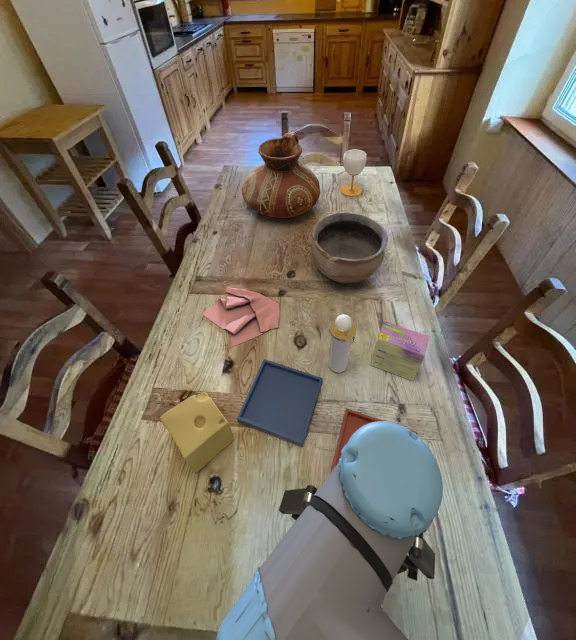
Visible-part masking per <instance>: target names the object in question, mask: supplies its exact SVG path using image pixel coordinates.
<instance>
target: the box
mask: <svg viewBox="0 0 576 640" xmlns="http://www.w3.org/2000/svg"><path fill="white" fill-rule="evenodd" d="M429 337H430V336H429V335H427V334H424V333H421V332H418V331H415V330H412V329H410V328H406V327H403V326H401V325H397V324H394V323H392V322H388V321H385V320H384V321H383V323H382V326H381V328H380V332H379V334H378V338H377V341H376V344H375V348H374V350H373V351H374V352H373V355H372V359H371V361H370V362H371V363H370V366H372V367H375V368H377V369H380V370H384V371H386V372H388V373H390V374H392V375H393V374H394V375H396V376H398V377H402V378H404V379H406V380H408V381H411V382H413V381H414V380H415V378H416V376H417V374H418V371H419V370H420V368H421V365H422V363H423V361H424V360H425V357H426V353H427V349H428V343H429Z"/></svg>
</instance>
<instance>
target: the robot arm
mask: <svg viewBox="0 0 576 640" xmlns="http://www.w3.org/2000/svg"><path fill="white" fill-rule="evenodd" d="M411 430H412V429H409V428H408V427H406V426H404V425H402V424H399V423H395V422H392V421H388V420H387V421H386V420H383V421H377V422H371V423H368V424H366V425H364V426H362V427H361V428H359V429H358V430H357V431H356V432H355V433H354V434H353V435H352V436H351V438H350V439H349V441H348V443H347V444H346V445H345V446H344V447H343V449H342V451H341V458H340V459H339V462H338V464H337V465H336V467H335V468H334V469H333V471H332V472H331V471H330V473H329V474H328V476H327V477H326V478H325V480H324V481H323V482H322V484H321V485H320V486H319V488H317V487H316V486H314V485H312V484H307V486H306V487H302V488H294V489H286V490H284V492H283V495H282V499H281V502H280V505H279V508H278V512H279V513H281V514H282V515H291V516H290V517H291V518H292V520H294V523H293V524H292V525H291V526H290V528H289V529H288V531H287V532H286V533H285V534H284V535H283V537H282V538H281V540H280V541H279V542H278V544H277V545H276V546H275V547H274V548H273V550H272V551H271V553H270V554H269V555H268V556H267V558H266V559H265V560H264V562H263V563H262V564H261V566H258V567H257V569H256V570H255V572H254V573H253V577H252V578H251V579H250V581H249V582H248V584H247V586H246V587H245V588H244V590H243V591H242V593H241V594H240V596H239V597H238V599H237V600H236V601H235V603H234V604H233V606H232V607H231V609H230V610H229V612H228V614H227V615H225V617H224V619H223V621H222V622H221V624H220V626H219V629H218V631H217V633H216V639H215V640H409V638H408V637H407V636H406V635H405V634H404V633H403V631H402V630H401V629H400V628H399V627H398V625H396V624H395V622H394V621H393V620H392V619H391V617H389V615H388V614H387V613H386V612H385V611H384V609H383V608H382V605H383V602H384V600H385V597H386V595H387V594H388V592H389V591H390V589H391V587H392V585H393V583H394V581H395V578H396V576H397V575H400V574H402V573H405V572H407V578H409V579H411V580H413V581H416V582H417V581H418V576H419V575H418V574H419V573H418V572H419V571H420V572H421V573H422V575H423V576H425V577H426V578H427V579H429V580H435V573H436V571H435V570H436V553H435V551H434V550H433V549H432V547H431V546H430V545H429V543H428V542H427V541H426V539H425V538H424V533H426V532H428V530H429V528H430V526H431V525H432V523H433V520H434V519H435V518H436V516H437V514H438V512H439V510H440V507H441V504H442V500H443V494H444V485H443V477H442V472H441V470H440V467H439V464H438V461H437V459H436V457H435V456H434V454H433V452H432V451H431V449H430V447H429V446H428V445H427V443H425V442H424V440H423V439H422V438H421V437H420V436H419V435H418V434H416V433H414V432H412V431H413V430H412V431H411Z"/></svg>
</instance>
